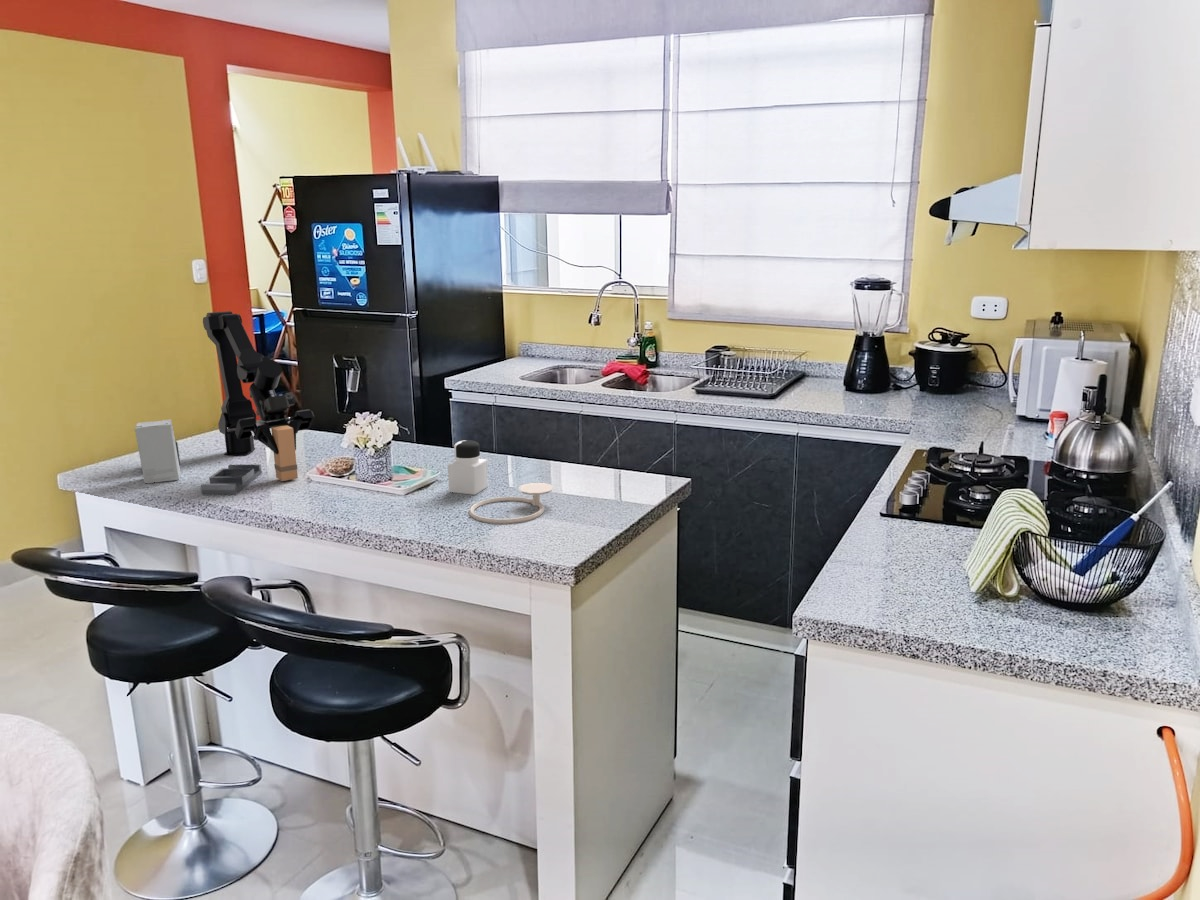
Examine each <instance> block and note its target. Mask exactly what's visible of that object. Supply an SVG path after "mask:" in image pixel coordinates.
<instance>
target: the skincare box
mask: <svg viewBox="0 0 1200 900" xmlns="http://www.w3.org/2000/svg"><path fill="white" fill-rule="evenodd" d="M134 432H135V437H136V443H137V448H138V454H139V455H138V456H139V459H140V466H141V470H142V475H143V482H144V484H145V483H147V484H153V483H154V482H155V483H162V482H168V481H173V482H174V481H179V480H180V477H181V470H180V469H181V468H180V466H179V461H178V455H177V449H176V443H175V441H176V438H175V432H174V427H173V422H172V419H162V420H153V421H144V422H142V421H141V422H137V423H136V425H135V428H134Z"/></svg>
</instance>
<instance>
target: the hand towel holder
mask: <svg viewBox="0 0 1200 900" xmlns="http://www.w3.org/2000/svg"><path fill="white" fill-rule="evenodd" d="M554 488H555V487H554V486H553V485H552V484H549V483H543V482H531V483H525V484H522V485H520V486H519V487H518V491H520V493H522V494H524V495H528V496H532V498H529V497H524V496H523V497H522V496H501V497H492V498H487V499H484V500H481V501H478V502H476V503H475V504H473V505H471V507H470V509H469V510H468V511H469V512H468V513H469V516H470V517H471V518H473V520H477V521H479V522H483V523H488V524H496V525H498V524H500V525H506V524H509V525H510V524H518V523H525V522H528V521H531V520H534V519H536V518H539V517H541V515H542V514H543V513H544V512H545V511H544V510H545V507H544V506H543V504H542V502H541V501H540V499H541V497H540V496H541V495H546V494H549V493H550V492H551V491H552V490H553V489H554ZM499 502H522V503H527V504H531V505H532V506H533V507H538V508H539V510H538V511H536V512H535V513H533V514H529V515H527V516H526V515H525V516H521V517H515V518H489V517H485V516H480V515H478V514H476V513H475V510H476V509H477V508H480V507H481V506H483V505H484V506H485V505H488V504H492V503H493V504H494V503H499Z"/></svg>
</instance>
